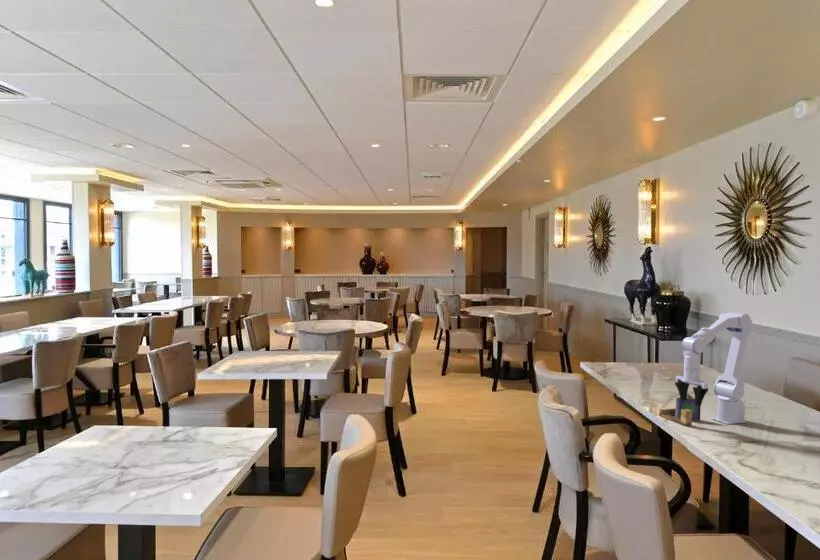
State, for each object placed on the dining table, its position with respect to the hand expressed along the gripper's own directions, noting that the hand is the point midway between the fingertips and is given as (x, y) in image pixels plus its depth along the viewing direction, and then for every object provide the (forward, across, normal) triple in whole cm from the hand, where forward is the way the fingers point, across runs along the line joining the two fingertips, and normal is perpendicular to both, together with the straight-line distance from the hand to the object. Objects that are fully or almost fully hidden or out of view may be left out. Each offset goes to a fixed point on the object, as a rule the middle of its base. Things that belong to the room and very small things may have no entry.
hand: (690, 402), depth 218 cm
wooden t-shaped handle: (+9, -8, +4) cm, 13 cm away
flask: (+10, -9, +7) cm, 15 cm away
